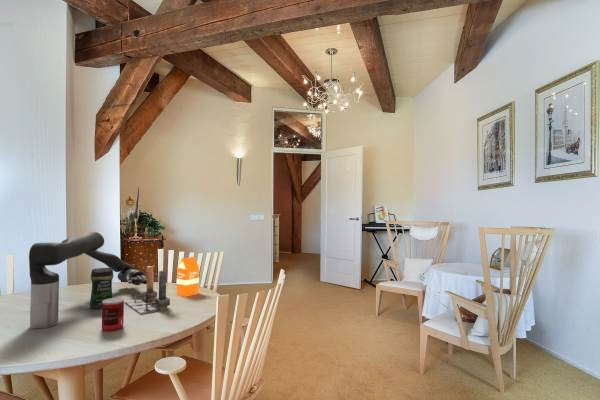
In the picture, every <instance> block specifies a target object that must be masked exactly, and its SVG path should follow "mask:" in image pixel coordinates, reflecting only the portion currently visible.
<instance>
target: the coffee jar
mask: <svg viewBox="0 0 600 400" xmlns="http://www.w3.org/2000/svg"><path fill="white" fill-rule="evenodd" d="M113 279H114V271H113V269H112V268H109V267H98V268H97V267H96V268H93V269H91V272H90V280H91V292H90V293H91V294H90V298H89V308H90V309H93V310H97V309H102V301H103V300H106V299H110V298H114V297H113V290H112V289H113V287H112V285H113V283H112V282H113Z"/></svg>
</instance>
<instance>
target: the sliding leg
mask: <svg viewBox="0 0 600 400" xmlns="http://www.w3.org/2000/svg"><path fill="white" fill-rule="evenodd" d="M154 268H155V267H154V266H153V265H148V266H147V265H146V276H147V284H146V291H142V294H139V295H134V296H133V300H134V302H136V299H137V298H140V297H142V299H143V298H144V299H145V300H148V298H149V297H155V298H158V292H157V291H156V290H154V275H155V274H154Z"/></svg>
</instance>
